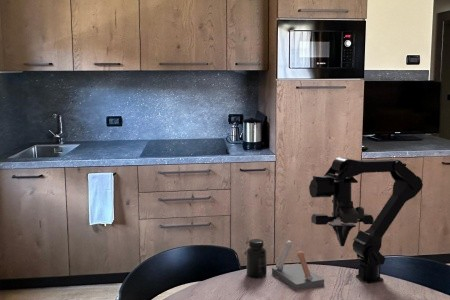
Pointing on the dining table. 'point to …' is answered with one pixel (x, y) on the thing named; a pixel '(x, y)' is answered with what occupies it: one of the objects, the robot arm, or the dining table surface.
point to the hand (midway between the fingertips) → (342, 246)
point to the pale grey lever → (284, 255)
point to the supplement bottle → (256, 259)
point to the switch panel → (297, 277)
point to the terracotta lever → (304, 266)
